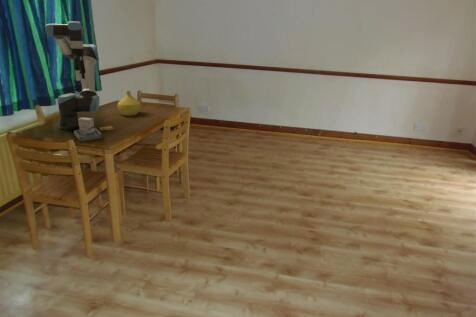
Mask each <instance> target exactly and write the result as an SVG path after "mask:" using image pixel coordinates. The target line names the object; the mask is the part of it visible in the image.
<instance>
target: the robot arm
mask: <svg viewBox="0 0 476 317" xmlns="http://www.w3.org/2000/svg"><path fill="white" fill-rule="evenodd" d="M44 28H45V34H46V36H48V37H52V38H53V39H54V40H55V42H56V44H57V45H58V46H59V51H60V53H61V54H62V55H63V56H65V57H66V58H67V59H70V60H73V69H74V72H75V80H76V81H77V82H78V81H79V82H80V83H81V91H80V92H79V95H77V94H76V93H75V92H73V93H72V92H70V93H65V94H61V95H58V97H57V104H58V105H57V106H58V110H59V111H58V112H59V121H58V129H60V130H65V131H67V130H70V131H71V130H78V129H79V123H78V119H79V118H80V116H79V113H94V112H95V113H96V112H98V111H99V108H100V103H101V101H100V96H99V95H98V93H97V92H96V83H95V82H96V80H95V78H96V75H95V71H96V70H95V65H97V62H98V61H99V52H98V49H97V48H98V47H97V46H96V44H92V43H89V44H88V43H87V44H84V40H83V36H84V34H85V28H84V26H82V23H81V22H80V21H67V23H66V24H65V23H64V24H63V23H62V24H61V23H47V24H45V27H44Z"/></svg>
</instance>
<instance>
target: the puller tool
mask: <svg viewBox="0 0 476 317" xmlns="http://www.w3.org/2000/svg"><path fill="white" fill-rule="evenodd" d="M98 128H99V129H98V130H99V132H104V131H111V130H114V129H113V128H114V127H113V126H112V125H109V126H101V127H98Z"/></svg>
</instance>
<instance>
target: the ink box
mask: <svg viewBox="0 0 476 317" xmlns="http://www.w3.org/2000/svg"><path fill="white" fill-rule="evenodd" d="M78 123H79V128H78V130H80V136H88V135H95V129H94V128H95V122H94V118H91V117H84V116H82V117H79V119H78Z"/></svg>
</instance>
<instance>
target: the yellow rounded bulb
mask: <svg viewBox="0 0 476 317" xmlns="http://www.w3.org/2000/svg"><path fill="white" fill-rule="evenodd" d="M125 93H126V95H125V96H123V98H122V99H121V100H120V101H118V102H117V109H118V111H119V112H120V114H122V115H123V116H126V117H130V116H133V117H134V116H136V115H137V114H138V113H139V112H140V111H141V108H142V104H141V101H139V100H138V99H137V98H135V97H134V96H132V93H131V91H130V90H126V91H125Z"/></svg>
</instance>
